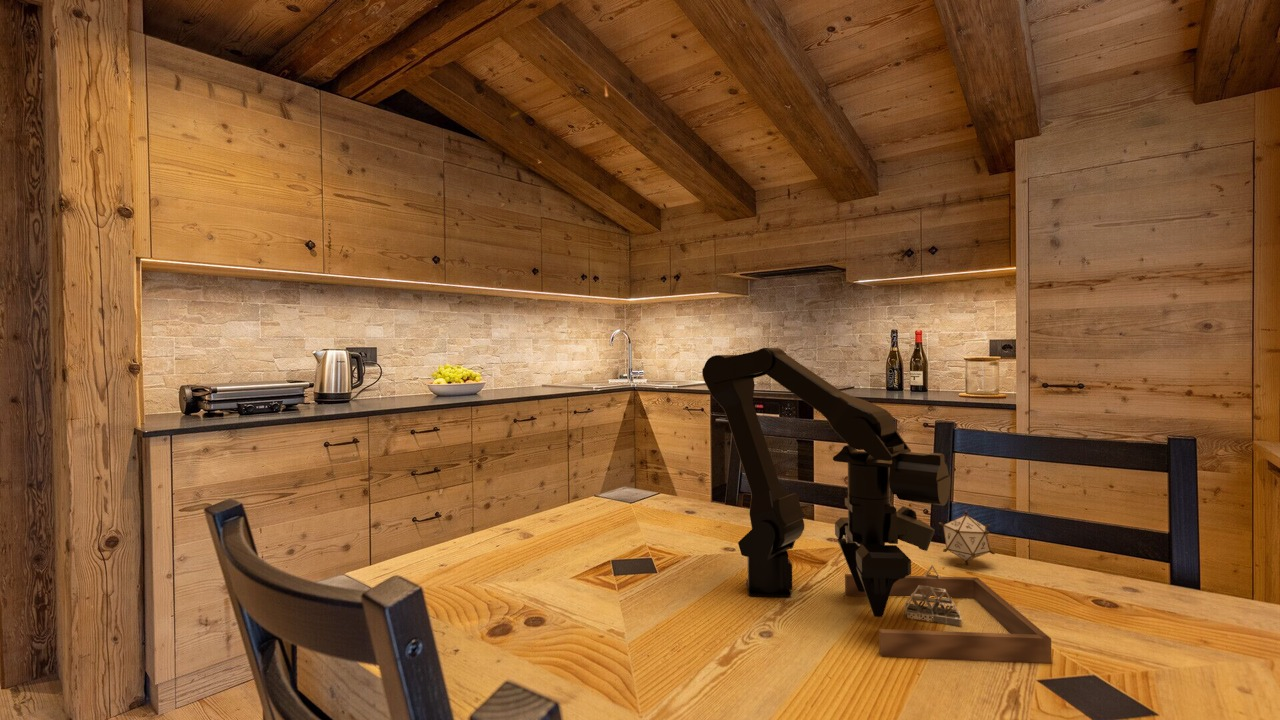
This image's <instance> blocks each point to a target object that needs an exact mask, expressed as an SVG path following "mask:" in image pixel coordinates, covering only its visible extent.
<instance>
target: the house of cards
mask: <svg viewBox="0 0 1280 720" xmlns="http://www.w3.org/2000/svg"><path fill="white" fill-rule="evenodd" d="M931 570H933V571H934V573H935V574H933V575H932V574H929V573H930V571H931ZM924 576H925V577H928V578H936V579H937V588H932V587H928V586H920V585H918V587H917V588H916V590H915V591H914V593H912V594H911V596H910V597H908V598H907V600H906V602H904V615H906V614H907V615H906V619H907V618H912V619H911V620H913V619H918V620H917V621H919V620H924V621H923V622H926V621H931V622H930V623H934V622H937V623H936V624H941V623H942V624H941V625H947V626H954V627H961V623H962V614H961V611H960V610H959V609H958V607H957V605H956V603H955V602H954V601H953V598H950V596H949V595H948V593H947V591H946V590H945V589H940V588H938V579H939V577H940V576H939V574H938V572H937V570H936V568H935V567H934V565H932V564H931V566H930V567H929V569H928V570H927V571H926V573H925V574H924ZM918 589H919V590H920V592H921V594H922V595H920V594H915V593H916V591H917V590H918ZM921 589H928V590H929V592H928V593H927V594H926V596H925V595H924V594H923V592H922V591H921ZM934 591H940V592H943V593H942V595H941V596H940V597H937V595H936V594H935V592H934ZM932 592H933V594H934V596H935V597H936V598H929V597H930V595H931V594H932ZM945 593H946V594H947V596H948V597H949V598H942V597H943V595H944V594H945ZM912 602H913V603H912ZM918 602H919V603H918ZM932 603H933V604H932ZM925 604H926V605H925ZM953 607H954V608H953ZM919 611H920V612H919ZM932 617H933V618H932Z"/></svg>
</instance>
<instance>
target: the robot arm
mask: <svg viewBox="0 0 1280 720" xmlns="http://www.w3.org/2000/svg"><path fill="white" fill-rule="evenodd" d="M701 370H702V371H701V373H702V379H703V382H704V384H705V386H706V387H707V389H708V391H709V393H710V395H711V397H712V398H713V399H714V400H715V401H716V403H718V405H719V406H720V407H721V408H722V409H723V411H724V413H725V415H726V419H727V421H728V424H729V428H730V432H731V434H732V437H733V441H734V443H735V447H736V450H737V453H738V456H739V460H740V463H741V465H742V468H743V472H744V474H745V477H746V481H747V483H748V488H749V491H750V494H751V496H750V506H749V514H748V515H749V519H750V526H751V529H750V530H749V532H747V533H746V534H745V535H744V536H743V537H742V538H741V539H740V540H739V541H738V542H737V545H738V548H739V551H740V554H741V555H742V556H743V557H746V558H747V579H746V588H747V592H748V593H747V594H748V596H749V597H756V598H758V597H759V598H760V597H761V598H763V597H764V598H765V597H766V598H791V595H792V594H791V591H792V590H793V564H792V561H791V559H790V558H789V553H788V551H789V550H792V549H794V546H795V544H796V541H797V540H799V539H800V538H801V536H802V535H803V532H804V530H805V521H804V519H805V518H807V515H806V514H805V512H804V511H803V510H802V506H801V502H800V497H799V495H798V493H797V492H795V493H791V494H789V493H788V492H787V491H786V490H785V489H784V487H782V485H781V483H780V481H779V476H778V474H777V471H776V468H775V465H774V462H773V459H772V456H771V454H770V451H769V447H768V444H767V442H766V438H765V435H764V432H763V429H762V427H761V424H760V420H759V417H758V414H757V411H756V408H755V406H754V392H755V378H756V379H757V378H760V377H762V376H763V377H764V376H765V375H767V376H768V377H769V378H771V379H773V381H775V382H777V383H778V384H779V385H781V386H782V387H784V388H785V389H786V390H788V391H789V392H790V393H792V394H793V395H795V396H796V397H797V398H799V399H800V400H802V401H803V402H804V403H806V404H807V405H808V406H810V407H812V408H814V410H816V411H818V413H820V414H821V415H822V416H823V417H824V418H825V419H826V421H827V422H828V424H829V425H830V427H831V429H832V430H833V431H834V432H835V433H836V434H837V435H838V436H839V437H840V438H841V439H842V440H843V442H845V443H846V445H843V447H842V449H841V450H840V451H839V452H837V454H835V455H834V456H833V457H832V460H833V461H834V462H837V463H846V464H847V497H844V505H845V507H846V508H847V516H846V517H844V516H843V517H842V516H841V517H839V518H838V519H837V520H836V522H834V536H835V537H836V538H837V543H838V545H839V547H840V550H841V552H842V555H843V556H844V557H843V558H844V560H845V563H846V564H847V567H848V569H849V572H850V574H852V577H853V579H854V582H855V584H856V587H857V589H858V591H859V592H865V593H866V596H865V597H866V598H867V601H868V604H869V606H870V607H869V608H870V609H871V612H872V614H873V616H874V618H883V617H884V614H885V610H886V607H887V604H888V600H889V595H890V591H891V589H892V586H893V584H894V583H895V582H896V581H898V580H899V579H903V578H905V577H906V576H912V560H911V559H910V558H909V557H908V555H906V553H905V552H904V551H903V550H902V549H901V548H899V546H897V545H898V544H899V541H902V542H905V543H907V544H910V545H913V546H915V547H918V549H919V550H922V551H925V552H927V551H928V549H929V547H930V545H931V542H932V539H933V537H934V534H935V529H934V528H933V527H932V526H931V525H930V524H928V523H926V522H924V521H922V520H921V519H918V518H917V513H916V511H915V510H914V509H912V508H910V507H907V506H904V505H902V506H901V507H900V508H899V509H898V510H897V507H896V506H894V505H893V504H892V503H891V494H892V495H895V496H896V497H897V499H898V500H900V501H909V502H915V503H921V504H929V505H936V506H945V505H946V504H947V503H948V501H949V496H950V492H951V475H949V474H950V473H949V469H948V465H947V463H946V462H945V454H944V453H940V452H930V453H925V452H923V453H922V452H912V450H911V449H910V447H909V446H908V445H907V444H908V443H906V442H905V440H904V439H903V437H902V436H901V435H900V433H899V432H898V430H896V428H895V427H896V426H895V425H896V424H895V421H894V417H893V415H892V414H891V413H890V412H889V411H888V410H887V409H885V408H883V407H881V406H878V405H877V404H875V403H872V402H869V401H868V400H865V399H862V398H858V397H856V396H853V395H850V394H847V393H845V392H843V391H841V390H840V389H839V388H837V387H836V386H834V385H833V384H831V383H830V382H828V381H827V380H825V379H824V378H822V377H821V376H819V375H818V374H816V373H815V372H814V371H811V370H810V369H809V368H807V366H804V365H803V364H802V363H800V362H798V361H797V360H796V359H794V358H792V357H791V356H790V355H788V354H787V353H786V352H785V351H784V349H781V348H779V347H762V348H760V349H757V350H755V351H751V352H746V353H742V354H716V355H712V356H711V357H709V358H708V359H707V360H706V362H705V364H704V366H703V368H702V369H701ZM887 543H888V544H887Z"/></svg>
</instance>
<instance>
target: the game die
mask: <svg viewBox="0 0 1280 720" xmlns="http://www.w3.org/2000/svg"><path fill="white" fill-rule="evenodd" d="M968 514H969V512H968V510H967V509H965V511H964V515H961V516H959V517H958V518H956V519H953V520H951V521H948V522H946V523H943V522H938V524H939V526H942V528H943V536H944V541H945V542H944V544H945V547H946V548H943V551H942V552H943V553H946V552H947V551H948V552H950V553H952V554H954V555H955V556H956V557H959V558H960V559H962V560H964V565H966V566H968V565H969V561H971V560H973V559H977V558H978V557H981V556H983V555H986V554H988V553H990V554H991V555H996V553H995V551H993V550H991V546H990V540H989V536H988V535H989V534H990V531H989V530H987V528H990V525H991V524H989V523H986V524H985V525H984V524H982V522H979V521H977V520H976V519H974V518H972V517H971V516H969V515H968Z"/></svg>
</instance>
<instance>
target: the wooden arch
mask: <svg viewBox="0 0 1280 720" xmlns="http://www.w3.org/2000/svg"><path fill="white" fill-rule="evenodd" d="M918 585H920V586H928V587H932V588H937V579H936V578H928V577H925V575H908V576H906V577H905V578H903V579H899V580H898V581H896V582H895V583H894V584H893V586H892V589H891V591H890V595H889V596H911V594H912V593H914V591H915V590H916V588H917V587H918ZM938 588H940V589H945V590H946V591H947V593H948V595H949V596H950V598H951V597H952V598H951V599H967V598H968V599H969V600H970V599H971V600H972V599H973V600H974V601H975V602H977V603H978V604H979V605H980V606H981V607H982V608H983V609H984V610H985V611H986V612H988V614H989V615H990V616H991V617H993V618H994V619H995V620H996V621H997V623H999V624H1000V625H1001V626H1002V627H1004V629H1005V630H1006V631H1007V632H1009V633H1002V632H1001V633H998V632H973V631H972V632H970V631H967V632H966V631H945V630H944V631H943V630H942V631H941V630H916V629H915V630H913V629H890V628H889V629H886V628H884V629H883V628H878V630H879V631H878V637H879V638H878V640H879V641H878V642H879V643H878V646H879V648H878V651H879V652H878V653H879V655H880V656H881V657H887V658H888V657H889V658H891V657H892V658H913V659H936V660H937V659H941V660H959V661H960V660H965V661H966V660H967V661H987V662H988V661H989V662H1013V663H1015V662H1016V663H1035V664H1036V663H1037V664H1040V663H1041V664H1052V638H1051V637H1050V636H1049V635H1048V634H1046V633H1045V632H1044V631H1043V630H1041V629H1040V627H1038V626H1037V625H1035V624H1034V623H1033V622H1032V621H1031V620H1030V619H1028V618H1027V616H1025V615H1023V614H1022V613H1021V612H1020V611H1019V610H1018V609H1016V608H1015V607H1014V606H1013V605H1012V604H1010V603H1009V602H1008V601H1007V600H1005V599H1004V597H1002V596H1000V595H999V594H998V593H997V592H996V591H994V589H992V588H991V587H990V586H988V585H987V584H986V583H985V582H984V581H982V579H980V578H979V577H973V576H972V577H969V576H939V579H938ZM921 591H922V592H923V594H924V595H925V596H926V594H927V593H928V592H929V590H928V589H921ZM934 592H935V594H936V595H937V597H940V596H941V595H942V593H943V592H940V591H934ZM844 593H845V595H846V596H856V597H857V596H861V597H863V596H864V597H867V596H866V593H865V592H859V591H858V589H857V587H856V584H855V582H854V579H853V577H852V574H851V573H845V574H844ZM915 594H920V595H922V594H921V592H920V590H919V589H918V590H917V591H916V593H915ZM930 596H934V594H933V592H932V594H931V595H930ZM943 597H948V596H947V594H946V593H945V594H944V595H943Z"/></svg>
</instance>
